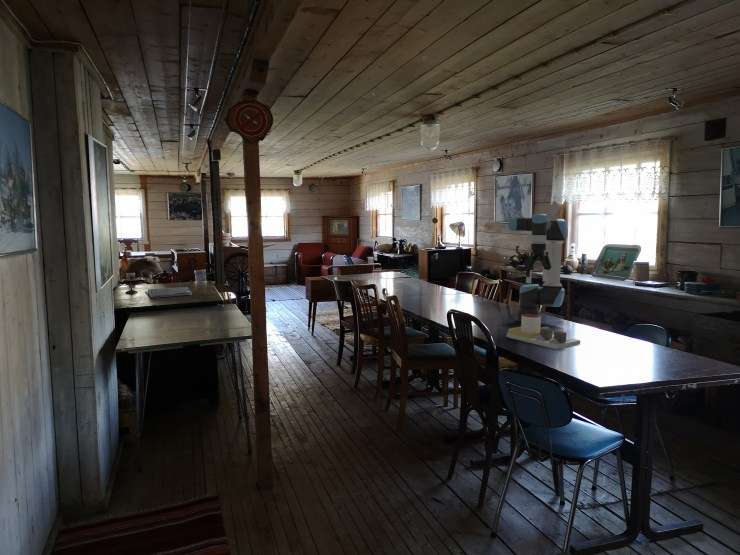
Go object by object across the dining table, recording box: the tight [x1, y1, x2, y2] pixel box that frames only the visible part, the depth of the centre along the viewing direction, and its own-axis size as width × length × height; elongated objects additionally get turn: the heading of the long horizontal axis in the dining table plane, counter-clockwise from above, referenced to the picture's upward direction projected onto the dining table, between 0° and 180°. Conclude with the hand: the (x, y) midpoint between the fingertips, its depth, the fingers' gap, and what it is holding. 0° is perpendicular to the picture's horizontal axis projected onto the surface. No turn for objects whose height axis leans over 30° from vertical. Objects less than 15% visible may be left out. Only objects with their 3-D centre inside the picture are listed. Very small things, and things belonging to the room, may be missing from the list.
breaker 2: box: [553, 330, 568, 343], centre depth 270 cm, size 4×4×6 cm
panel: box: [506, 326, 581, 350], centre depth 283 cm, size 20×32×4 cm, turn 34°
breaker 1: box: [540, 326, 553, 340], centre depth 277 cm, size 4×4×6 cm
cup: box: [520, 314, 542, 333], centre depth 289 cm, size 10×10×10 cm
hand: (536, 282), depth 285 cm, fingers open, 13 cm apart
